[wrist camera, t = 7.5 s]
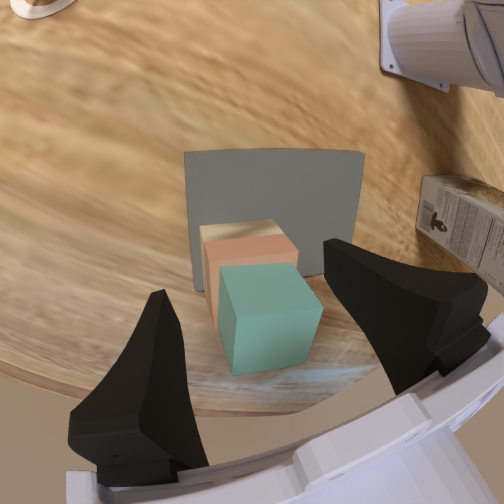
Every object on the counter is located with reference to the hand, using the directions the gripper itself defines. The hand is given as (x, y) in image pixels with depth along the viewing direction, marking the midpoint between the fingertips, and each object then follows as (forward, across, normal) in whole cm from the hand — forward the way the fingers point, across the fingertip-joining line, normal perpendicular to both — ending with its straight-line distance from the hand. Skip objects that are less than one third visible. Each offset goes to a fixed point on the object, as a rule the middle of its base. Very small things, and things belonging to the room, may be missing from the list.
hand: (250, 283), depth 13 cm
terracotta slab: (+7, -1, +4) cm, 8 cm away
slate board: (+10, -5, +3) cm, 12 cm away
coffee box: (+11, -25, +6) cm, 28 cm away
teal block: (+4, -1, +4) cm, 6 cm away
